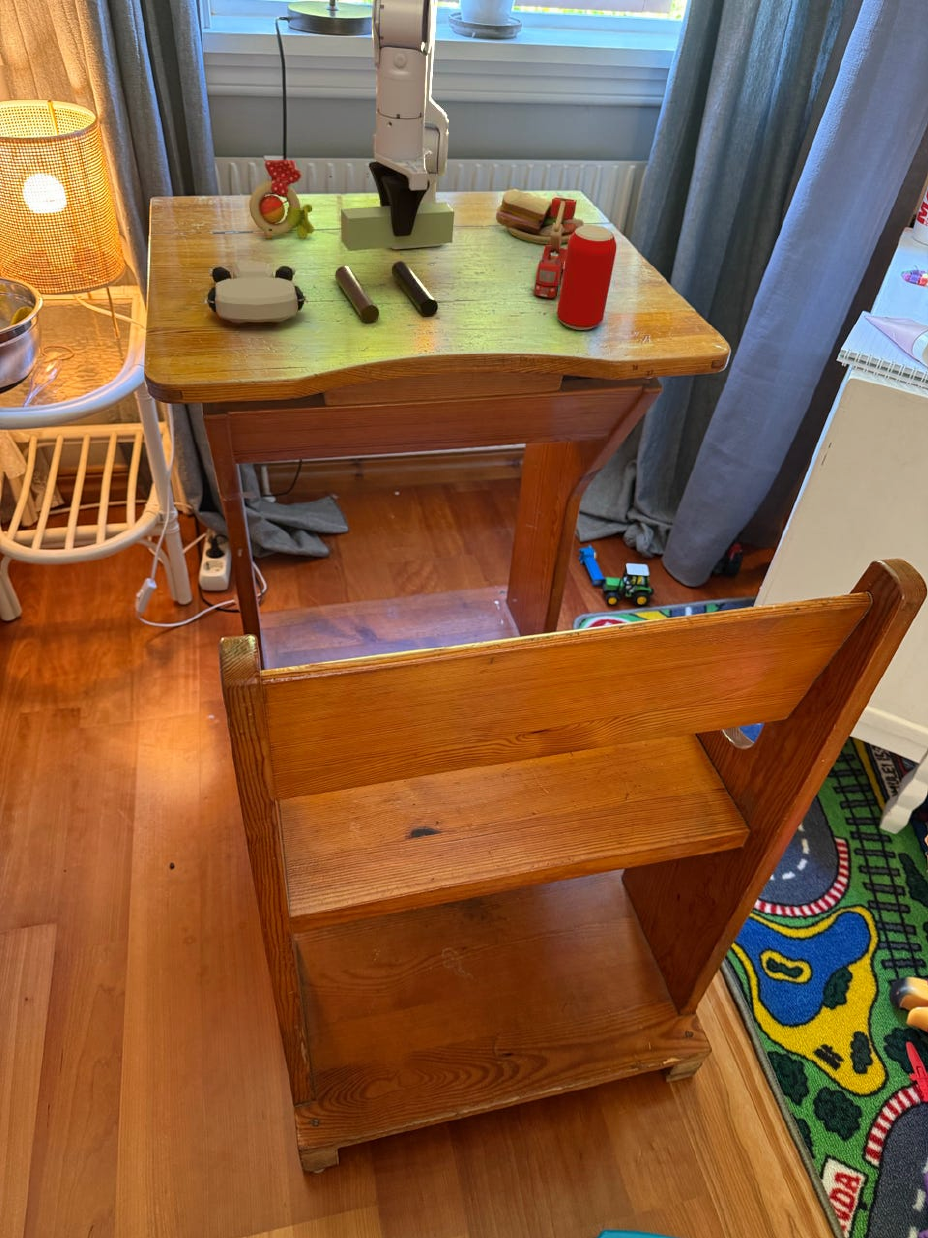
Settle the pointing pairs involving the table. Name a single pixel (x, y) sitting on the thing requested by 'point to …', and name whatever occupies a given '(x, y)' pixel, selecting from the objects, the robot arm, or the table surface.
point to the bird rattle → (280, 202)
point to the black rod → (414, 289)
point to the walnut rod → (357, 294)
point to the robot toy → (255, 293)
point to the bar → (376, 229)
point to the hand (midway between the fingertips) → (397, 229)
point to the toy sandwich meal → (532, 218)
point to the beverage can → (586, 277)
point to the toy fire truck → (550, 264)
